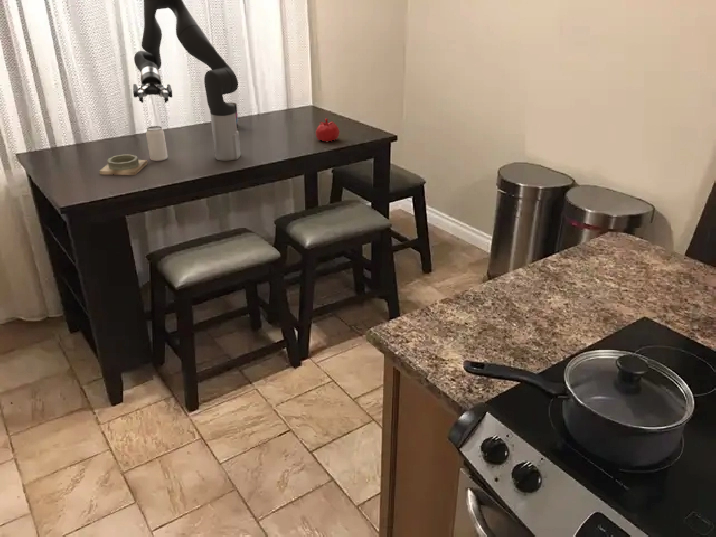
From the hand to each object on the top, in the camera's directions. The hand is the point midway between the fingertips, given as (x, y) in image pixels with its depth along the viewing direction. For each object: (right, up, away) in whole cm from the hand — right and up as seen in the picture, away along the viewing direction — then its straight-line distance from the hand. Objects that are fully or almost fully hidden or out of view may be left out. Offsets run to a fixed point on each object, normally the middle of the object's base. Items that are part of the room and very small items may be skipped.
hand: (154, 100), depth 232 cm
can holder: (-9, -27, -6) cm, 29 cm away
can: (0, -21, +5) cm, 22 cm away
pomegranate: (+65, -10, +27) cm, 71 cm away
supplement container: (+20, 0, +43) cm, 48 cm away
